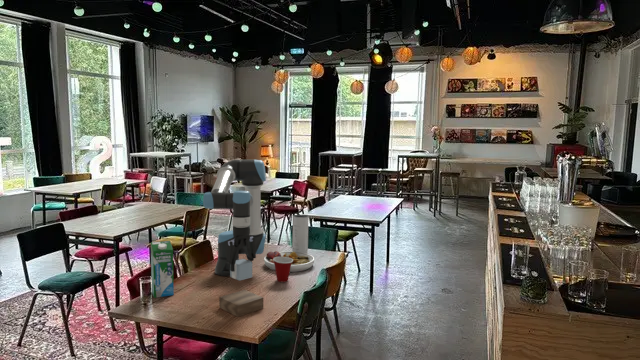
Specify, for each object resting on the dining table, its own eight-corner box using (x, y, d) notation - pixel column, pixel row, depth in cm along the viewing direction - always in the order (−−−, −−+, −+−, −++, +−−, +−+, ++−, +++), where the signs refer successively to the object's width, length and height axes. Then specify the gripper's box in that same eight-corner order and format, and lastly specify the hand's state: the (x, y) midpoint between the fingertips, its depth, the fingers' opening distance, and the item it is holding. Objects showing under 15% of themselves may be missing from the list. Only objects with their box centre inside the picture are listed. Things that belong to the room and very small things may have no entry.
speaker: (311, 254, 293) (311, 215, 291) (299, 257, 286) (300, 217, 283) (300, 251, 301) (300, 213, 298) (288, 253, 293) (289, 214, 291)
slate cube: (230, 276, 199) (230, 261, 198) (242, 273, 204) (243, 258, 203) (239, 280, 194) (239, 265, 193) (252, 277, 199) (252, 262, 198)
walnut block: (219, 307, 200) (219, 297, 199) (244, 299, 210) (244, 289, 209) (237, 316, 190) (237, 305, 190) (263, 308, 200) (263, 297, 200)
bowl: (319, 261, 278) (319, 249, 277) (307, 275, 249) (307, 262, 248) (273, 257, 284) (273, 245, 284) (256, 271, 255) (256, 258, 255)
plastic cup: (290, 284, 233) (290, 262, 231) (270, 282, 235) (270, 260, 234) (295, 278, 243) (295, 256, 242) (276, 276, 245) (276, 255, 244)
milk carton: (153, 298, 210) (153, 246, 207) (151, 291, 218) (150, 242, 215) (173, 295, 214) (173, 244, 212) (170, 289, 222) (170, 240, 220)
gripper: (227, 230, 187) (227, 283, 189) (264, 224, 201) (264, 273, 203) (217, 227, 192) (217, 279, 194) (254, 221, 206) (254, 269, 208)
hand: (241, 276), depth 198 cm, fingers closed on slate cube, 7 cm apart
